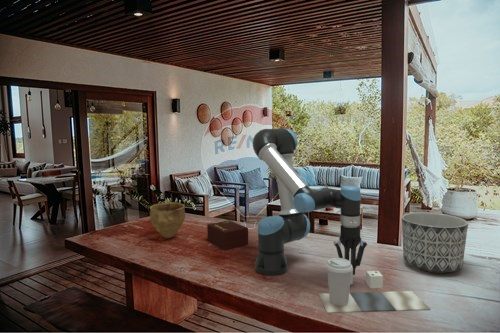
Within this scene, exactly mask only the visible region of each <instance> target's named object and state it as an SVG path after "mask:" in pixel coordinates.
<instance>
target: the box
mask: <svg viewBox="0 0 500 333" xmlns="http://www.w3.org/2000/svg"><path fill="white" fill-rule="evenodd" d="M206 229H207V230H206V231H207V241H208V242H210V243H212V245H213V244H214V245H215V246H217V247H219V248H220V249H222V250H224V251H228V250H233V249H237V248H241V247H246V246H249V227H247V226H244V225H241V224H239V223H236V222H234V221H232V220H230V219H229V220H223V221H218V222H211V223H207V226H206Z"/></svg>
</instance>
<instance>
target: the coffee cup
mask: <svg viewBox="0 0 500 333" xmlns="http://www.w3.org/2000/svg"><path fill="white" fill-rule="evenodd" d="M325 269H326V271H327V272H326V273H327V274H326V275H327V283H328V284H327V285H328V286H327V287H328V293H329V298H330V303H331V304H333V305H336V306H346V305H347V304H348V300H349V293H350V288H351V284H350V280H351V271H352V270H353V267H352V265H351V260H350V259H349V260H346V259H344V257H343V258H339V257H333V258H329V259H328V260H327V263H326V264H325Z"/></svg>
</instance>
